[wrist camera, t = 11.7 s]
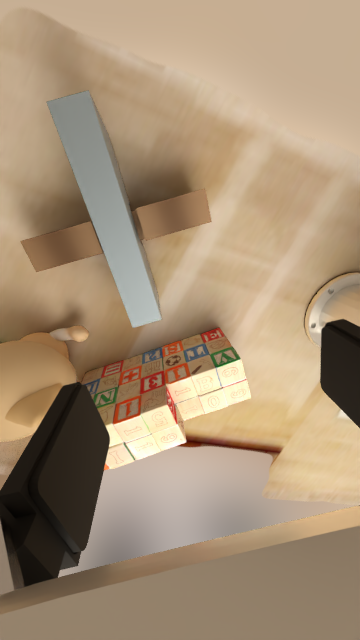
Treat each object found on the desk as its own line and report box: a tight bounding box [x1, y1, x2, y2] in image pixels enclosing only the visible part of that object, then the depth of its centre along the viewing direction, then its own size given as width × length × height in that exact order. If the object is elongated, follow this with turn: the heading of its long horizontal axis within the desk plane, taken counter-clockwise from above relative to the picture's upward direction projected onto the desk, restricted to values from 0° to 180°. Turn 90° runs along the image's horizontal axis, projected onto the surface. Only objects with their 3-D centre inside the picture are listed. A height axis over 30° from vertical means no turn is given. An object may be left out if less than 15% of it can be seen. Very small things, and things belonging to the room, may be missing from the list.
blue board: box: [47, 90, 162, 328], centre depth 24 cm, size 18×3×9 cm, turn 14°
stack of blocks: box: [81, 328, 251, 470], centre depth 31 cm, size 21×6×12 cm, turn 108°
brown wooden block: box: [20, 189, 211, 272], centre depth 25 cm, size 18×3×6 cm, turn 104°
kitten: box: [0, 325, 89, 442], centre depth 26 cm, size 15×10×15 cm
